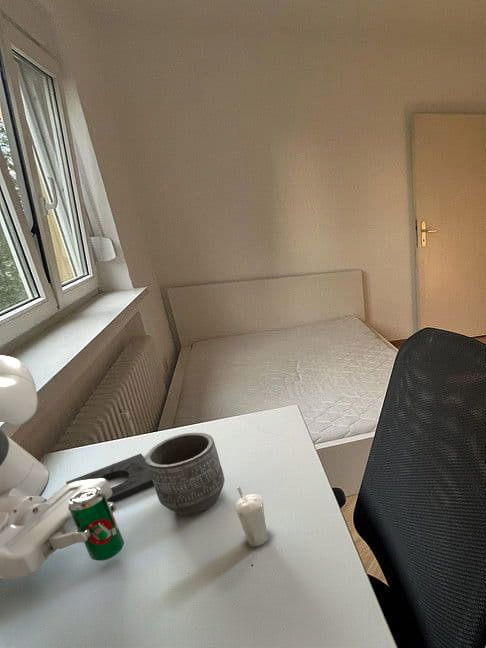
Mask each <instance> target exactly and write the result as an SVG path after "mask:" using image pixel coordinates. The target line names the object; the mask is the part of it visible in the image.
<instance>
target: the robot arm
mask: <svg viewBox="0 0 486 648" xmlns="http://www.w3.org/2000/svg"><path fill="white" fill-rule="evenodd" d="M38 402H39V401H38V392H37V387H36V384H35V380H34V378H33V375H32V373H31V371H30V369H29V368H28V367H27V366H26V364H25V363H23V361H22V360H19V359H18V358H15V357H12V356H8V355H1V354H0V422H9V423H11V424H14V425H18V426H21V425H23V424H25V423H26V422H28V421H29V420H30V419H31V418H32V417H34V415H35V414H36V412H37V409H38ZM49 481H50V471H49V469H48V468H47V467H46V466H45V465H44V464H43V463H41V461H39V460H38V459H37V458H35V456H33V455H32V454H30V453H29V452H28V451H27V450H25V449H24V448H23V447H21V446H20V445H19V444H18V443H16V441H14V440H13V439H12V438H11V437H9V436H8V435H7V434H6V433H5V432H4V431H3V429H0V578H1V579H22V578H23V579H24V578H25V577H27V576H29V575H32V574H33V573H35V572H36V571H37V570H38V569H39V568H40V567H41V566H42V565H43V564H44V563H45V562H46V561H47V560H48V559H50V557H51V556H52V555H53V554H54V553H55V552H56V551H57V550H61V549H65V548H67V547H70V546H72V545H75V544H84V542H86V541H87V540H88V538H89V537H90V536H91V533H90V530H89V529H88V528H78V529H77V526H76V524H75V522H74V520H73V518H72V515H71V513H70V511H69V509H68V506H69V499H70V498H71V497H72V496H73V495H74V494H76V493H77V492H79V491H81V490H84V489H87V488H99V489H100V491H101V492H103V493H104V494H105V496H106V499H107V500H108V499H109V498H110V497H111V495H112V490H111V488H112V487H111V485H110V482H109V480H106V479H104V478H99V479H88V480H80V481H75V482H72V483H69V484H67V483H66V485H64V486H63V487H61V488H60V489H58V491H57V492H55V493H54V494H53V495H52V496H50V497H49V498H48V499H47V498H45V497H43V495H44V493H45V491H46V489H47V487H48V485H49ZM115 503H116V502H114V503H113V502H108V504H109V506H110V508H111V511H112V513H115V511H116V510H118V509H117V505H116V504H115Z"/></svg>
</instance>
